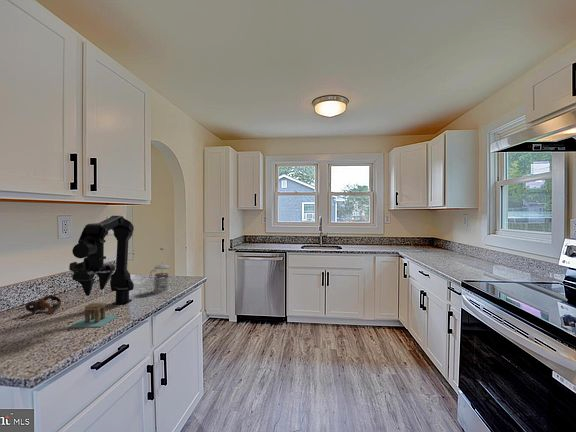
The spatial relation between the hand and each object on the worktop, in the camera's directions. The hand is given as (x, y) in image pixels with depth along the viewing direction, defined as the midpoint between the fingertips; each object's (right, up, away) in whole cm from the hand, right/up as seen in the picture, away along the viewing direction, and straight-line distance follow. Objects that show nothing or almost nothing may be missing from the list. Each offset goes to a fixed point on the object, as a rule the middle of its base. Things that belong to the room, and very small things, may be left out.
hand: (95, 292), depth 117 cm
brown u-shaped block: (0, -12, 0) cm, 12 cm away
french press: (+6, -12, +46) cm, 48 cm away
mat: (0, -12, 0) cm, 12 cm away
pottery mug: (-29, -12, +9) cm, 33 cm away
